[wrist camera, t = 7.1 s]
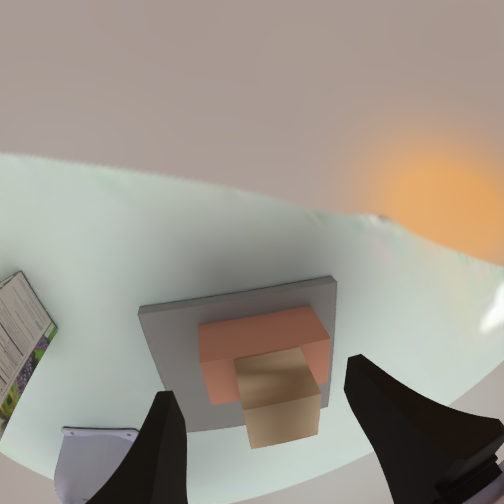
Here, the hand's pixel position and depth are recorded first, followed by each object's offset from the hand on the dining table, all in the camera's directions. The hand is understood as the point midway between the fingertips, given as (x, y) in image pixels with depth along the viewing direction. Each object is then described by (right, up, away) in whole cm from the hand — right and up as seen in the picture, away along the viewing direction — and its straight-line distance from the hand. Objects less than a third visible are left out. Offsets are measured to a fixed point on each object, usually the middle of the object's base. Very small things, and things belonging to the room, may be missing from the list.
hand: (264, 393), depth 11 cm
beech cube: (+1, -2, +7) cm, 7 cm away
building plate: (-1, -4, +13) cm, 13 cm away
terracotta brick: (0, -1, +10) cm, 10 cm away
